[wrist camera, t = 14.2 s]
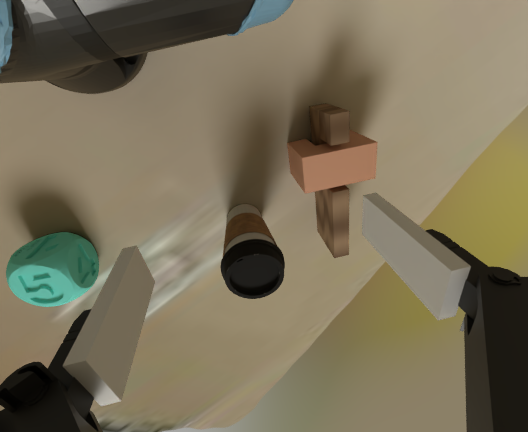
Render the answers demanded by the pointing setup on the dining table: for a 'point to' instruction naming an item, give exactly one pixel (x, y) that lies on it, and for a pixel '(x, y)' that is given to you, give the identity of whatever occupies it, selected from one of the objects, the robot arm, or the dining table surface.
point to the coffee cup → (250, 255)
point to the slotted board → (337, 198)
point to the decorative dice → (53, 269)
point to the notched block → (332, 162)
